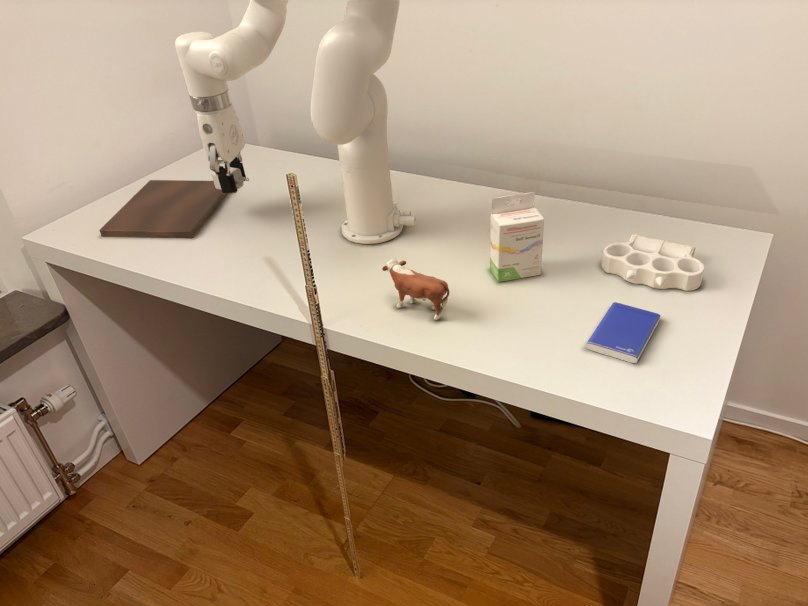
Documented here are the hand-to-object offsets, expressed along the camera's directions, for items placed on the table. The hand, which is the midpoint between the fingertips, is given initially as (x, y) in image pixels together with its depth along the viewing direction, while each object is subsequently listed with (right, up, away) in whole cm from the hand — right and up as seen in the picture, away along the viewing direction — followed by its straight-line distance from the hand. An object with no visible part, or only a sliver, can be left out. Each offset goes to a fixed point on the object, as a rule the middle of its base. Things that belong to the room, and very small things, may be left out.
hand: (234, 185), depth 147 cm
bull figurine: (+40, -27, -26) cm, 55 cm away
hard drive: (+74, -32, -34) cm, 88 cm away
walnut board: (-16, -4, +7) cm, 18 cm away
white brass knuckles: (+83, -20, -19) cm, 88 cm away
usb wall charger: (0, -1, 0) cm, 1 cm away
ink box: (+58, -20, -18) cm, 64 cm away
